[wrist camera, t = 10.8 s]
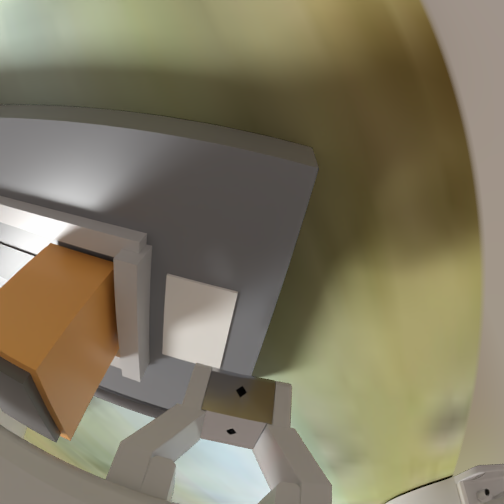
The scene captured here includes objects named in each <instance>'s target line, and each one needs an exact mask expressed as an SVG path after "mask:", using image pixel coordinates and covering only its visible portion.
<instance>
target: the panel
mask: <svg viewBox="0 0 504 504" xmlns="http://www.w3.org/2000/svg"><path fill="white" fill-rule="evenodd" d="M318 169H319V168H318V164H317V161H316V158H315V155H314V152H313V149H312V148H311V147H308V146H304V145H300V144H297V143H293V142H289V141H285V140H281V139H277V138H273V137H269V136H264V135H260V134H256V133H251V132H247V131H242V130H237V129H233V128H228V127H223V126H218V125H212V124H207V123H202V122H196V121H190V120H184V119H178V118H172V117H165V116H159V115H151V114H144V113H136V112H128V111H119V110H109V109H99V108H86V107H72V106H54V105H0V288H1V287H2V286H3V285H4V284H5V283H6V282H7V281H8V280H10V279H11V278H12V277H13V276H14V275H15V274H16V273H17V272H18V271H19V270H20V269H21V268H22V267H24V266H25V265H26V264H27V263H28V262H29V261H30V260H31V259H33V258H34V257H35V256H36V255H37V254H38V253H39V252H41V251H42V250H43V249H44V248H45V247H46V246H48V245H49V244H50V243H53V244H56V245H59V246H62V247H65V248H68V249H72V250H75V251H78V252H81V253H85V254H88V255H91V256H95V257H98V258H101V259H105V260H108V261H112V262H113V264H114V290H115V306H116V320H117V332H118V342H119V350H118V351H117V353H116V355H115V357H114V359H113V360H112V362H111V364H110V366H109V368H108V370H107V371H106V373H105V375H104V377H103V379H102V381H101V382H100V384H99V385H100V386H103V387H105V388H108V389H110V390H113V391H116V392H118V393H121V394H124V395H127V396H130V397H132V398H135V399H138V400H141V401H144V402H147V403H150V404H153V405H157V406H160V407H163V408H166V409H170V408H172V407H173V406H175V405H176V404H177V403H178V404H183V400H184V397H185V394H186V391H187V388H188V385H189V382H190V379H191V375H192V372H193V369H194V366H195V365H196V363H200V364H204V365H208V366H212V368H213V367H215V368H219V369H223V370H226V371H230V372H234V373H238V374H242V375H249V376H251V375H252V372H253V370H254V367H255V364H256V361H257V358H258V355H259V353H260V350H261V347H262V344H263V341H264V338H265V335H266V333H267V330H268V327H269V324H270V321H271V318H272V315H273V312H274V309H275V306H276V303H277V300H278V297H279V294H280V291H281V288H282V285H283V282H284V279H285V276H286V273H287V270H288V267H289V264H290V260H291V257H292V254H293V251H294V248H295V245H296V242H297V238H298V235H299V232H300V229H301V226H302V222H303V219H304V216H305V213H306V209H307V206H308V203H309V200H310V196H311V193H312V190H313V186H314V183H315V179H316V176H317V173H318Z"/></svg>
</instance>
